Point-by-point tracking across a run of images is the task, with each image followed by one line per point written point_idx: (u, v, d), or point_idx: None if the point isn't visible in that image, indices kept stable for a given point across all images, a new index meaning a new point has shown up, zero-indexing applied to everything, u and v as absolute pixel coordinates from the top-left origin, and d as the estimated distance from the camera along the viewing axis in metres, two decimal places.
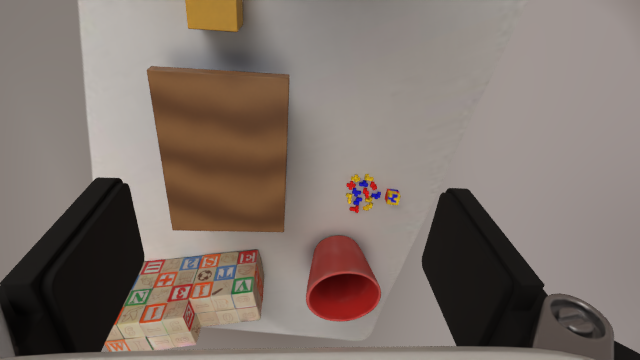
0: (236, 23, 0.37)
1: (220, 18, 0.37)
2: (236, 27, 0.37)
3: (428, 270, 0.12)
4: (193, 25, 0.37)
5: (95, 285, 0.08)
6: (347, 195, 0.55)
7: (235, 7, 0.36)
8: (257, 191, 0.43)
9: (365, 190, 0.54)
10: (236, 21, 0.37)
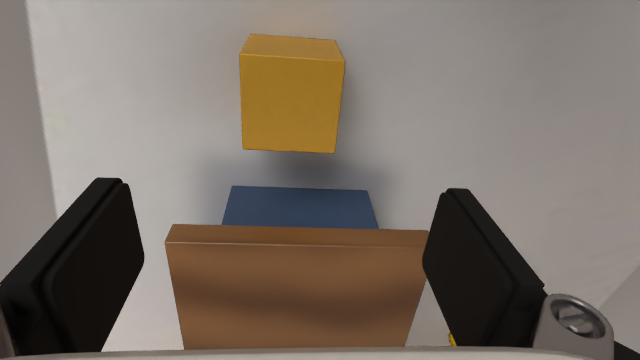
0: (334, 139, 0.19)
1: (306, 133, 0.19)
2: (334, 146, 0.20)
3: (428, 270, 0.12)
4: (253, 144, 0.19)
5: (95, 285, 0.08)
6: (451, 337, 0.37)
7: (337, 113, 0.19)
8: None
9: None
10: (335, 136, 0.19)
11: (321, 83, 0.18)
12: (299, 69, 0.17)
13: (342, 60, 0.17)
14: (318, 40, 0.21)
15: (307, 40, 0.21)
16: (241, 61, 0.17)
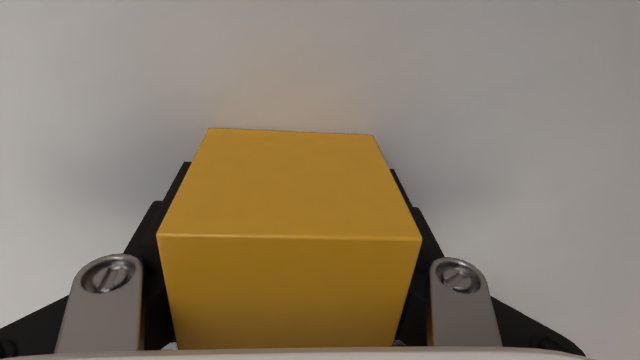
0: None
1: None
2: None
3: None
4: None
5: None
6: None
7: (393, 329, 0.08)
8: None
9: None
10: None
11: (362, 281, 0.07)
12: (310, 260, 0.07)
13: (415, 237, 0.07)
14: (342, 139, 0.11)
15: (321, 142, 0.10)
16: (162, 250, 0.07)
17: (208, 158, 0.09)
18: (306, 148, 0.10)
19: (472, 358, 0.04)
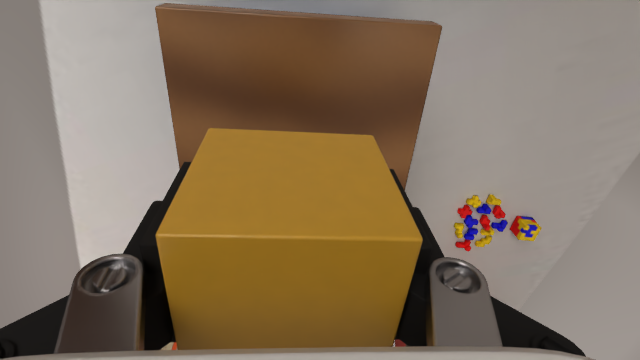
0: None
1: None
2: None
3: None
4: None
5: None
6: (457, 226, 0.36)
7: (393, 330, 0.08)
8: None
9: (485, 219, 0.36)
10: None
11: (362, 282, 0.07)
12: (310, 260, 0.07)
13: (416, 237, 0.07)
14: (342, 139, 0.11)
15: (321, 142, 0.10)
16: (162, 250, 0.07)
17: (208, 158, 0.09)
18: (306, 148, 0.10)
19: (472, 358, 0.04)
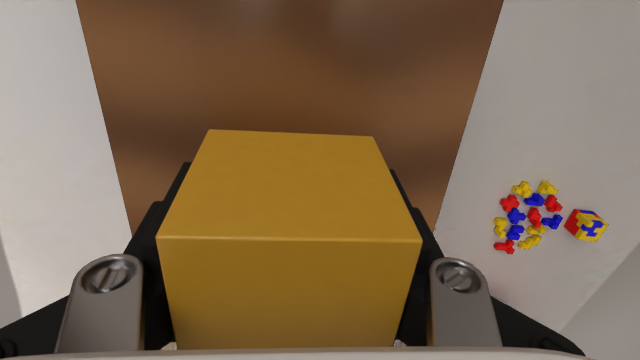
0: None
1: None
2: None
3: None
4: None
5: None
6: (498, 222, 0.28)
7: (393, 331, 0.08)
8: None
9: (535, 212, 0.28)
10: None
11: (362, 283, 0.07)
12: (310, 262, 0.07)
13: (416, 239, 0.07)
14: (342, 141, 0.11)
15: (321, 144, 0.10)
16: (162, 252, 0.07)
17: (208, 160, 0.09)
18: (306, 149, 0.10)
19: (472, 358, 0.04)
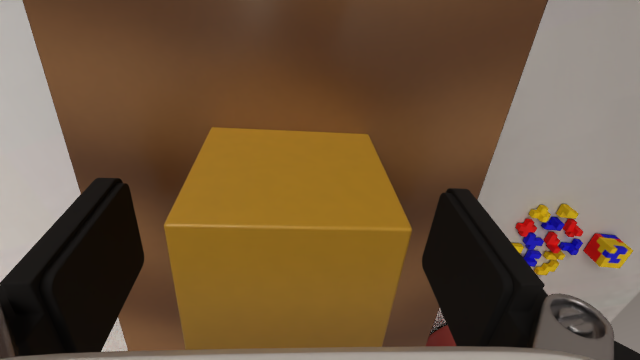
0: None
1: None
2: None
3: (428, 270, 0.12)
4: None
5: (95, 285, 0.08)
6: None
7: (386, 316, 0.09)
8: None
9: (553, 237, 0.26)
10: None
11: (356, 269, 0.08)
12: (307, 249, 0.08)
13: (405, 228, 0.07)
14: (338, 138, 0.11)
15: (318, 141, 0.11)
16: (169, 239, 0.07)
17: (211, 155, 0.10)
18: (304, 146, 0.10)
19: (472, 358, 0.04)
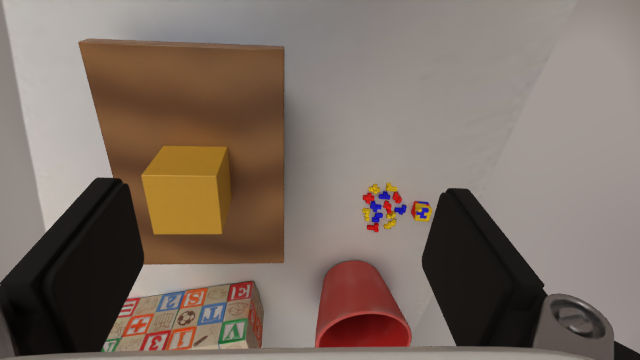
0: (220, 225, 0.27)
1: (198, 222, 0.26)
2: (220, 229, 0.27)
3: (428, 270, 0.12)
4: (160, 230, 0.27)
5: (95, 285, 0.08)
6: (364, 210, 0.43)
7: (218, 208, 0.26)
8: (245, 210, 0.32)
9: (387, 204, 0.43)
10: (220, 223, 0.27)
11: (202, 190, 0.25)
12: (185, 183, 0.25)
13: (214, 175, 0.25)
14: (213, 148, 0.29)
15: (203, 150, 0.28)
16: (143, 180, 0.25)
17: (160, 156, 0.27)
18: (197, 152, 0.28)
19: (472, 358, 0.04)
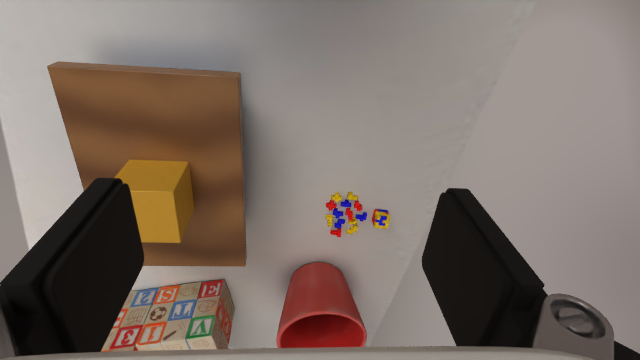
0: (178, 235, 0.29)
1: (157, 231, 0.29)
2: (179, 238, 0.30)
3: (428, 270, 0.12)
4: None
5: (95, 285, 0.08)
6: (327, 217, 0.46)
7: (175, 220, 0.29)
8: (207, 218, 0.35)
9: (348, 211, 0.46)
10: (178, 233, 0.29)
11: (160, 204, 0.28)
12: (144, 197, 0.27)
13: (171, 191, 0.27)
14: (174, 163, 0.31)
15: (166, 164, 0.31)
16: None
17: (124, 170, 0.29)
18: (159, 167, 0.30)
19: (472, 358, 0.04)
